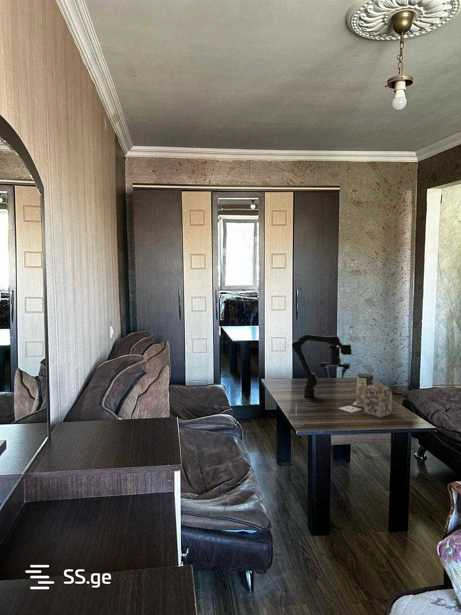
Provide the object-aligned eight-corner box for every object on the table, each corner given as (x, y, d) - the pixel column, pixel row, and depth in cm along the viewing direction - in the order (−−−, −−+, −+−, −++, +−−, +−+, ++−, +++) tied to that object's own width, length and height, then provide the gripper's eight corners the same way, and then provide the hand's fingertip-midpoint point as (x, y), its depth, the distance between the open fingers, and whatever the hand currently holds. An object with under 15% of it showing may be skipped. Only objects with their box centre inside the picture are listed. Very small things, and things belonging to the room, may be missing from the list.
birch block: (356, 404, 283) (356, 385, 282) (358, 402, 287) (358, 383, 286) (364, 405, 280) (364, 386, 279) (366, 403, 284) (366, 384, 283)
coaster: (351, 405, 282) (351, 404, 282) (356, 401, 290) (356, 401, 290) (366, 407, 277) (366, 406, 277) (370, 403, 285) (370, 403, 285)
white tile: (338, 408, 275) (338, 408, 275) (349, 406, 280) (349, 405, 280) (351, 412, 266) (351, 412, 266) (362, 409, 272) (362, 409, 272)
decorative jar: (363, 412, 267) (363, 382, 265) (374, 409, 274) (375, 379, 272) (380, 417, 257) (381, 386, 256) (392, 413, 264) (393, 383, 263)
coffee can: (372, 394, 308) (372, 373, 307) (373, 398, 298) (374, 377, 297) (356, 393, 310) (356, 373, 309) (357, 397, 300) (357, 376, 299)
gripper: (351, 353, 301) (351, 376, 302) (323, 352, 308) (323, 374, 310) (348, 356, 291) (348, 380, 292) (319, 354, 298) (320, 378, 299)
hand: (335, 378), depth 298 cm, fingers open, 9 cm apart
